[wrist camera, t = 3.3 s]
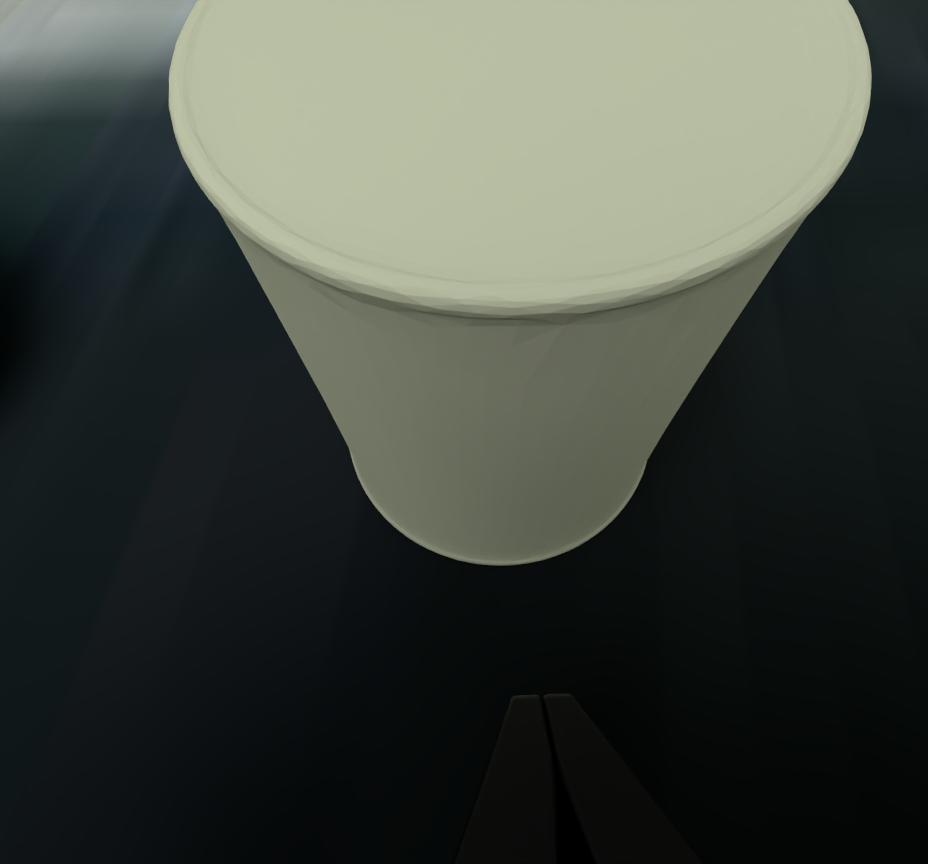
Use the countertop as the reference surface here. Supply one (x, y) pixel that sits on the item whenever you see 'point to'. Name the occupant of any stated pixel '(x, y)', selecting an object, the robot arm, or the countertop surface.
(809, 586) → the countertop surface
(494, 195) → the can
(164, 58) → the countertop surface
